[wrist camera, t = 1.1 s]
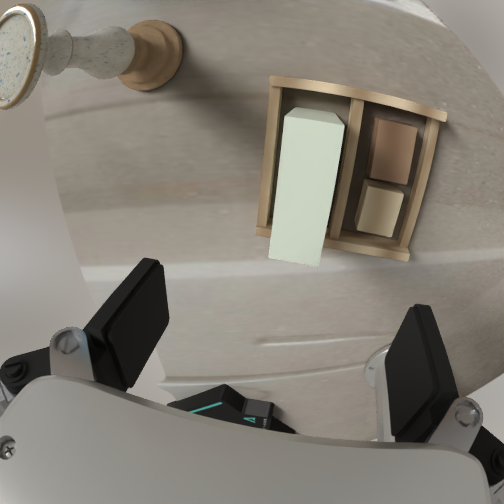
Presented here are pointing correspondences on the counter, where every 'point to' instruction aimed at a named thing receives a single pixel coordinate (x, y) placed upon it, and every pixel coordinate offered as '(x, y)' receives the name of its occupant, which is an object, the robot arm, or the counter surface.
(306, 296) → the counter surface
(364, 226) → the pine offcut
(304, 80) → the oak rack
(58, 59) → the candle holder
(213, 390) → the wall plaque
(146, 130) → the counter surface
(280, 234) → the sage panel
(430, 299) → the counter surface
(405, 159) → the walnut offcut
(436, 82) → the counter surface
